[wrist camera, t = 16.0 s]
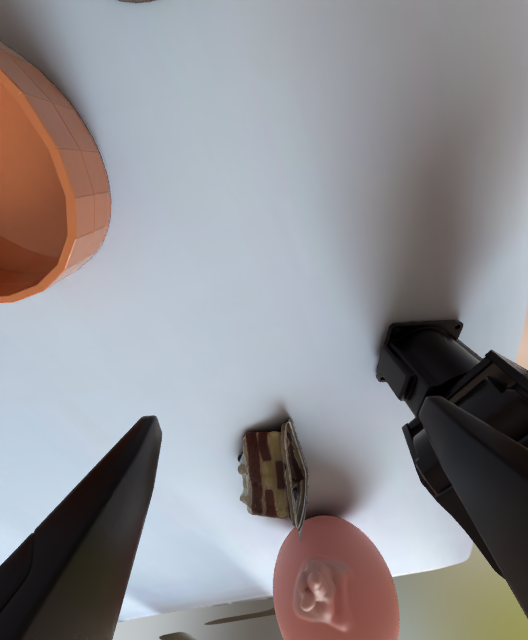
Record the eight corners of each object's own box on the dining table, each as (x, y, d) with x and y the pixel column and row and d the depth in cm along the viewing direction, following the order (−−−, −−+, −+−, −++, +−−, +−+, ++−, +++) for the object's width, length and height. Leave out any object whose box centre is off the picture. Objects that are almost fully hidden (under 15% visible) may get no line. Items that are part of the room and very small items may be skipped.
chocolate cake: (223, 419, 28) (221, 551, 25) (287, 421, 26) (293, 565, 23) (255, 410, 37) (256, 507, 34) (305, 410, 35) (311, 514, 32)
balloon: (360, 465, 34) (436, 657, 21) (370, 531, 44) (426, 688, 31) (246, 492, 35) (248, 689, 22) (281, 550, 45) (297, 709, 32)
